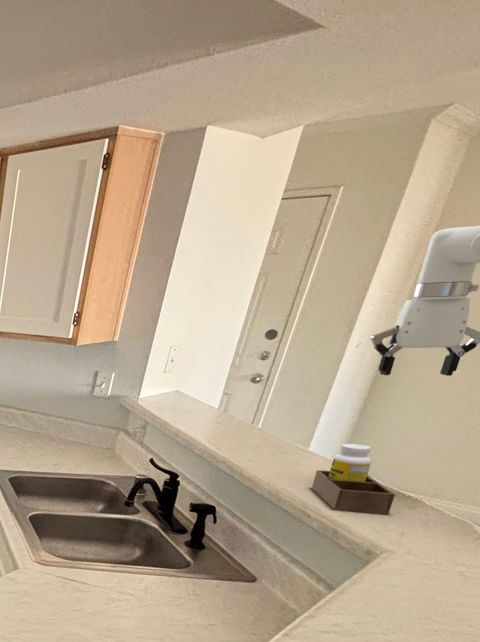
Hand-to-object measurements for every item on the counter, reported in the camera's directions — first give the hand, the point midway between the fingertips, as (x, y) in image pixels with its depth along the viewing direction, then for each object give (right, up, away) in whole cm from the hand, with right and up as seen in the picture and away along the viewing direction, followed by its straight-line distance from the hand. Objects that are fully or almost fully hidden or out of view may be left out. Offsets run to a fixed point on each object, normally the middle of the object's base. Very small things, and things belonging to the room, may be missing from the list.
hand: (414, 374), depth 128 cm
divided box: (-9, -28, +5) cm, 30 cm away
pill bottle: (-7, -26, +9) cm, 28 cm away
